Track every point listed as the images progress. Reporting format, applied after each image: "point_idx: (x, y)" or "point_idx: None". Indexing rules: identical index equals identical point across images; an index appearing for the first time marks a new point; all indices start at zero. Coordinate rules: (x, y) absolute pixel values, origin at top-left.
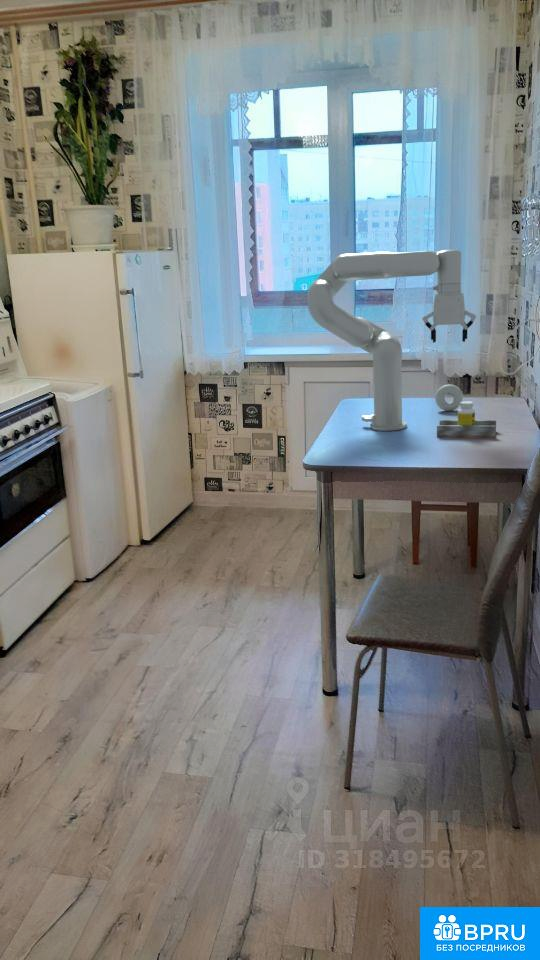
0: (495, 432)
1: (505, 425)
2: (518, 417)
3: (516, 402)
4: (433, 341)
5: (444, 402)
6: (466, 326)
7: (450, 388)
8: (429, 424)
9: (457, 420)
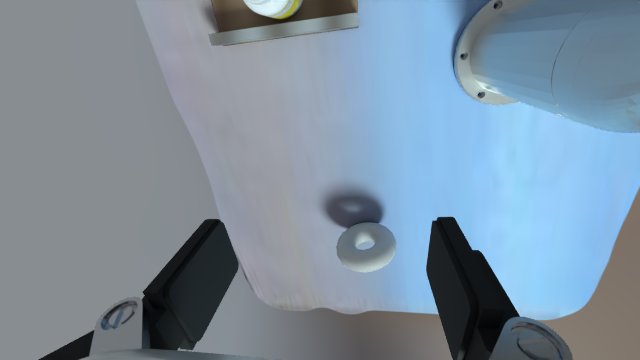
0: (213, 7)
1: (226, 112)
2: (225, 182)
3: (262, 280)
4: (448, 219)
5: (373, 232)
6: (109, 331)
7: (361, 255)
8: (393, 101)
9: (306, 22)
